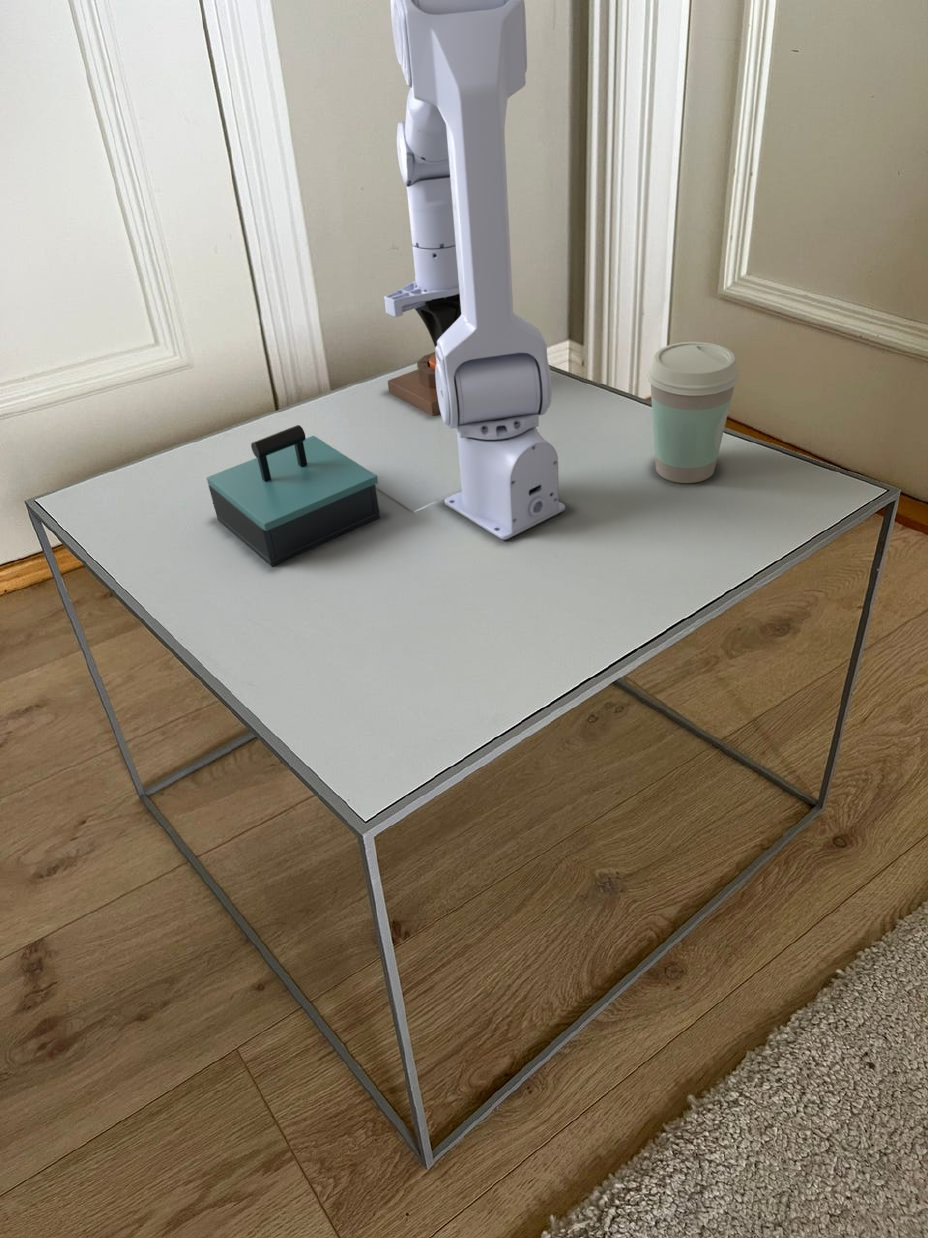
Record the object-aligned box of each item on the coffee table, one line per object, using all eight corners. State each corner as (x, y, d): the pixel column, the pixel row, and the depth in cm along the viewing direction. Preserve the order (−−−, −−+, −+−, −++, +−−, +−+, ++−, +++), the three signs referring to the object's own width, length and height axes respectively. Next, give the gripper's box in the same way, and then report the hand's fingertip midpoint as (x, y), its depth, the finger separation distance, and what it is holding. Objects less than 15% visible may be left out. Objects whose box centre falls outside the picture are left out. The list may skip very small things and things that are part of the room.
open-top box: (380, 517, 93) (375, 481, 90) (271, 567, 87) (262, 529, 85) (321, 477, 100) (315, 442, 98) (217, 520, 95) (207, 484, 92)
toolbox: (378, 483, 90) (371, 436, 87) (266, 531, 84) (254, 484, 81) (315, 441, 98) (306, 397, 95) (207, 484, 92) (195, 438, 89)
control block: (465, 363, 121) (464, 337, 119) (511, 384, 115) (510, 357, 113) (388, 393, 115) (385, 366, 113) (432, 416, 110) (429, 388, 108)
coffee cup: (728, 492, 92) (742, 376, 85) (640, 488, 94) (646, 374, 86) (727, 450, 99) (740, 339, 91) (644, 447, 100) (650, 338, 93)
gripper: (466, 219, 110) (473, 332, 119) (363, 250, 104) (378, 367, 112) (505, 230, 106) (510, 347, 114) (400, 263, 99) (413, 384, 108)
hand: (447, 358), depth 113 cm, fingers closed, pressing on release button
